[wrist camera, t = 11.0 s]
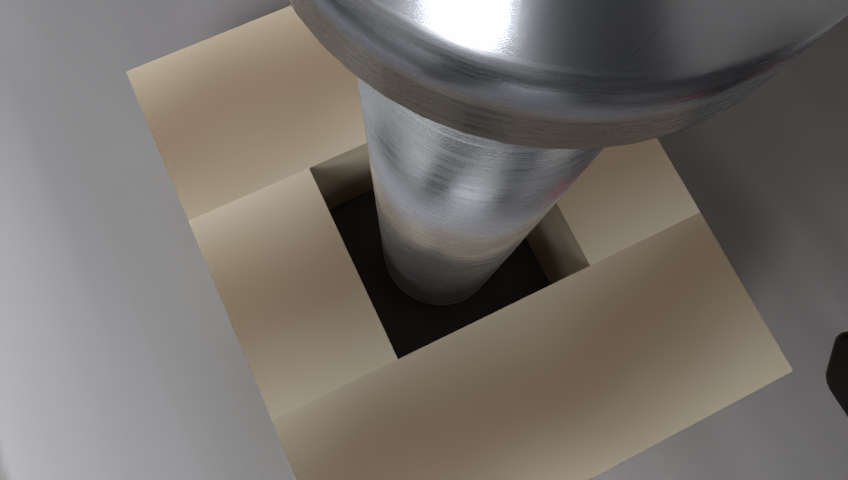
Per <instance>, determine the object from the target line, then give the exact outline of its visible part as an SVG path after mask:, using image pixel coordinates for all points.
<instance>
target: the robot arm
mask: <svg viewBox="0 0 848 480" xmlns="http://www.w3.org/2000/svg"><path fill="white" fill-rule="evenodd" d="M826 381H827V384H828V386H829V389H830V391H831V392H832V394H833V395H834V397H835V398H836V400H837V401H838V403H839V404H840V406H841V407H842V409H843V410H844V412H845V413H846V415H847V416H848V331H846V332H843V333H840V334H839V335H838V336H837V337H836V339H835V341H834V345H833V349H832V352H831V356H830V359H829V363H828V366H827V370H826Z"/></svg>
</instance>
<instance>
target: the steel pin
mask: <svg viewBox="0 0 848 480" xmlns="http://www.w3.org/2000/svg"><path fill="white" fill-rule="evenodd" d="M288 1H289V3H290V4H291V6H292V7H293V9H294V11H295V12H296V14H297V15H298V16H299V18H300V19H301V20H302V21H303V23H304V24H305V25H306V26H307V27H308V29H309V30H310V31H311V32H312V34H313V35H314V36H315V37H316V39H317V40H318V41H319V42H320V44H321V45H323V46H324V47H325V48H326V49H327V50H328V51H329V52H330V53H331V54H332V55H333V56H334V57H335V58H336V59H337V60H338V61H340V62H341V63H342V64H343V65H344V66H345V67H346V68H347V69H348V70H349V71H350V72H351V73H353V74H354V75H356V76H357V81H358V88H359V95H360V101H361V108H362V114H363V121H364V128H365V134H366V141H367V147H368V154H369V161H370V167H371V174H372V180H373V187H374V193H375V200H376V207H377V213H378V220H379V226H380V233H381V240H382V246H383V253H384V259H385V264H386V267H387V270H388V272H389V274H390V276H391V278H392V280H393V281H394V282H395V284H396V285H397V286H398V287H399V288H400V289H401V290H402V291H403V292H404V293H405V294H407V295H408V296H410V297H411V298H413V299H415V300H417V301H420V302H422V303H426V304H430V305H450V304H454V303H458V302H461V301H463V300H465V299H467V298H469V297H470V296H472V295H473V294H475V293H476V292H477V291H478V290H479V289H480V288H481V287H482V286H483V285H484V284H485V283H486V282H487V280H488V279H489V278H490V277H491V276H492V275H493V274H494V273H495V271H496V270H497V269H498V268H499V267H500V266H501V265H502V263H503V262H504V261H505V260H506V259H507V258H508V257H509V256H510V254H511V253H512V252H513V251H514V250H515V249H516V248H517V247H518V245H519V244H520V243H521V242H522V241H523V240H524V239H525V237H526V236H527V235H528V234H529V233H530V232H531V231H532V230H533V228H534V227H535V226H536V225H537V224H538V223H539V222H540V220H541V219H542V218H543V217H544V216H545V215H546V214H547V213H548V211H549V210H550V209H551V208H552V207H553V206H554V205H555V204H556V202H557V201H558V200H559V199H560V198H561V197H562V196H563V194H564V193H565V192H566V191H567V190H568V189H569V188H570V187H571V185H572V184H573V183H574V182H575V181H576V180H577V179H578V178H579V176H580V175H581V174H582V173H583V172H584V171H585V170H586V168H587V167H588V166H589V165H590V164H591V163H592V162H593V161H594V159H595V158H596V157H597V156H598V155H599V154H600V153H601V152H602V150H603V149H604V148H605V147H612V146H620V145H628V144H634V143H638V142H642V141H646V140H650V139H654V138H658V137H661V136H665V135H669V134H673V133H676V132H678V131H680V130H683V129H685V128H688V127H690V126H693V125H695V124H698V123H700V122H703V121H705V120H708V119H710V118H712V117H714V116H715V115H717V114H719V113H720V112H722V111H724V110H726V109H727V108H729V107H731V106H733V105H734V104H736V103H738V102H739V101H741V100H743V99H745V98H746V97H747V96H748V95H750V94H751V93H752V92H753V91H755V90H756V89H757V88H758V87H760V86H761V85H762V84H763V83H765V82H766V81H767V80H769V79H770V78H771V77H772V76H774V75H775V74H776V73H777V72H779V71H780V70H781V69H782V68H783V67H785V66H786V65H787V64H788V63H790V62H791V61H792V60H793V59H795V58H796V57H797V56H798V55H799V54H801V53H802V52H803V51H804V50H806V49H807V48H808V47H809V46H811V45H812V44H813V43H814V42H815V41H817V40H818V39H819V38H820V37H822V36H823V35H824V34H825V33H827V32H828V31H829V30H830V29H832V28H833V27H834V26H835V25H836V24H838V23H839V22H840V21H841V20H843V19H844V18H845V17H846V16H848V0H288Z"/></svg>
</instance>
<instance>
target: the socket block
mask: <svg viewBox="0 0 848 480" xmlns="http://www.w3.org/2000/svg"><path fill="white" fill-rule="evenodd" d="M126 73H127V75H128V78H129V80H130V83H131V85H132V87H133V90H134V92H135V94H136V97H137V99H138V102H139V104H140V106H141V109H142V111H143V114H144V116H145V118H146V121H147V123H148V125H149V128H150V130H151V133H152V135H153V137H154V140H155V142H156V145H157V147H158V149H159V152H160V154H161V157H162V159H163V161H164V164H165V166H166V168H167V171H168V173H169V176H170V178H171V180H172V183H173V185H174V188H175V190H176V192H177V195H178V197H179V199H180V202H181V204H182V207H183V209H184V211H185V214H186V216H187V219H188V221H189V223H190V226H191V228H192V230H193V233H194V235H195V238H196V240H197V242H198V245H199V247H200V250H201V252H202V254H203V257H204V259H205V262H206V264H207V266H208V269H209V271H210V273H211V276H212V278H213V281H214V283H215V285H216V288H217V290H218V293H219V295H220V297H221V300H222V302H223V304H224V307H225V309H226V312H227V314H228V316H229V319H230V321H231V324H232V326H233V328H234V331H235V333H236V335H237V338H238V340H239V343H240V345H241V347H242V350H243V352H244V355H245V357H246V359H247V362H248V364H249V367H250V369H251V371H252V374H253V376H254V378H255V381H256V383H257V386H258V388H259V390H260V393H261V395H262V398H263V400H264V402H265V405H266V407H267V409H268V412H269V414H270V417H271V419H272V421H273V424H274V426H275V429H276V431H277V433H278V436H279V438H280V441H281V443H282V445H283V448H284V450H285V452H286V455H287V457H288V460H289V462H290V464H291V467H292V469H293V472H294V474H295V476H296V479H297V480H590V479H592V478H594V477H596V476H598V475H600V474H601V473H603V472H605V471H607V470H609V469H611V468H613V467H615V466H616V465H618V464H620V463H622V462H624V461H626V460H628V459H629V458H631V457H633V456H635V455H637V454H639V453H641V452H643V451H644V450H646V449H648V448H650V447H652V446H654V445H656V444H658V443H659V442H661V441H663V440H665V439H667V438H669V437H671V436H673V435H674V434H676V433H678V432H680V431H682V430H684V429H686V428H687V427H689V426H691V425H693V424H695V423H697V422H699V421H701V420H702V419H704V418H706V417H708V416H710V415H712V414H714V413H716V412H717V411H719V410H721V409H723V408H725V407H727V406H729V405H731V404H732V403H734V402H736V401H738V400H740V399H742V398H744V397H745V396H747V395H749V394H751V393H753V392H755V391H757V390H759V389H760V388H762V387H764V386H766V385H768V384H770V383H772V382H774V381H775V380H777V379H779V378H781V377H783V376H785V375H787V374H789V373H790V372H792V371H793V370H792V368H791V366H790V365H789V363H788V361H787V359H786V358H785V356H784V354H783V353H782V351H781V349H780V347H779V346H778V344H777V342H776V341H775V339H774V337H773V335H772V334H771V332H770V330H769V329H768V327H767V325H766V323H765V322H764V320H763V318H762V317H761V315H760V313H759V311H758V310H757V308H756V306H755V305H754V303H753V301H752V299H751V298H750V296H749V294H748V293H747V291H746V289H745V287H744V286H743V284H742V282H741V281H740V279H739V277H738V276H737V274H736V272H735V270H734V269H733V267H732V265H731V264H730V262H729V260H728V258H727V257H726V255H725V253H724V252H723V250H722V248H721V246H720V245H719V243H718V241H717V240H716V238H715V236H714V234H713V233H712V231H711V229H710V228H709V226H708V224H707V222H706V221H705V219H704V217H703V216H702V214H701V212H700V210H699V209H698V207H697V205H696V204H695V202H694V200H693V198H692V197H691V195H690V193H689V192H688V190H687V188H686V186H685V185H684V183H683V181H682V180H681V178H680V176H679V174H678V173H677V171H676V169H675V168H674V166H673V164H672V162H671V161H670V159H669V157H668V156H667V154H666V152H665V151H664V149H663V147H662V145H661V144H660V142H659V140H658V139H657V138H654V139H650V140H646V141H642V142H638V143H634V144H628V145H620V146H612V147H605V148H604V149H603V150H602V152H601V153H600V154H599V155H598V156H597V157H596V158H595V159H594V161H593V162H592V163H591V164H590V165H589V166H588V167H587V168H586V170H585V171H584V172H583V173H582V174H581V175H580V176H579V178H578V179H577V180H576V181H575V182H574V183H573V184H572V185H571V187H570V188H569V189H568V190H567V191H566V192H565V193H564V194H563V196H562V197H561V198H560V199H559V200H558V201H557V202H556V204H555V205H554V206H553V207H552V208H551V209H550V210H549V211H548V213H547V214H546V215H545V216H544V217H543V218H542V219H541V220H540V222H539V223H538V224H537V225H536V226H535V227H534V228H533V230H532V231H531V232H530V233H529V234H528V235H527V236H526V239H527V241H528V243H529V245H530V247H531V249H532V251H533V253H534V255H535V257H536V258H537V260H538V262H539V264H540V266H541V268H542V270H543V272H544V274H545V276H546V278H547V279H548V281H549V283H550V285H549V286H547V287H545V288H543V289H541V290H539V291H537V292H535V293H533V294H531V295H529V296H527V297H525V298H523V299H521V300H519V301H517V302H515V303H513V304H510V305H508V306H506V307H504V308H502V309H500V310H498V311H496V312H494V313H492V314H490V315H488V316H486V317H484V318H482V319H480V320H478V321H476V322H474V323H471V324H469V325H467V326H465V327H463V328H461V329H459V330H457V331H455V332H453V333H451V334H449V335H447V336H445V337H443V338H441V339H439V340H437V341H434V342H432V343H430V344H428V345H426V346H424V347H422V348H420V349H418V350H416V351H414V352H412V353H410V354H408V355H406V356H404V357H402V358H400V359H398V358H397V356H396V354H395V352H394V350H393V347H392V345H391V343H390V341H389V339H388V337H387V334H386V332H385V330H384V328H383V326H382V324H381V322H380V319H379V317H378V315H377V313H376V311H375V309H374V307H373V304H372V302H371V300H370V298H369V296H368V294H367V292H366V289H365V287H364V285H363V283H362V281H361V279H360V276H359V274H358V272H357V270H356V268H355V266H354V264H353V261H352V259H351V257H350V255H349V253H348V251H347V249H346V246H345V244H344V242H343V240H342V238H341V236H340V233H339V231H338V229H337V227H336V225H335V223H334V221H333V218H332V216H331V214H330V212H329V209H331V208H333V207H335V206H338V205H340V204H342V203H344V202H347V201H349V200H351V199H353V198H355V197H358V196H360V195H362V194H364V193H367V192H369V191H371V190H373V189H374V187H373V180H372V174H371V167H370V161H369V154H368V147H367V141H366V134H365V128H364V121H363V114H362V108H361V101H360V95H359V88H358V81H357V76H356V75H354V74H353V73H351V72H350V71H349V70H348V69H347V68H346V67H345V66H344V65H343V64H342V63H341V62H340V61H338V60H337V59H336V58H335V57H334V56H333V55H332V54H331V53H330V52H329V51H328V50H327V49H326V48H325V47H324V46H323V45H321V44H320V42H319V41H318V40H317V39H316V37H315V36H314V35H313V34H312V32H311V31H310V30H309V29H308V27H307V26H306V25H305V24H304V23H303V21H302V20H301V19H300V18H299V16H298V15H297V14H296V12H295V11H294V9H293V7H292V6H288V7H286V8H283V9H281V10H278V11H276V12H273V13H271V14H268V15H266V16H263V17H261V18H258V19H256V20H253V21H251V22H248V23H246V24H243V25H241V26H238V27H236V28H233V29H231V30H228V31H226V32H223V33H221V34H218V35H216V36H213V37H211V38H209V39H206V40H204V41H201V42H199V43H196V44H194V45H191V46H189V47H186V48H184V49H181V50H179V51H176V52H174V53H171V54H169V55H166V56H164V57H161V58H159V59H156V60H154V61H151V62H149V63H146V64H144V65H141V66H139V67H136V68H134V69H132V70H129V71H127V72H126Z"/></svg>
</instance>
